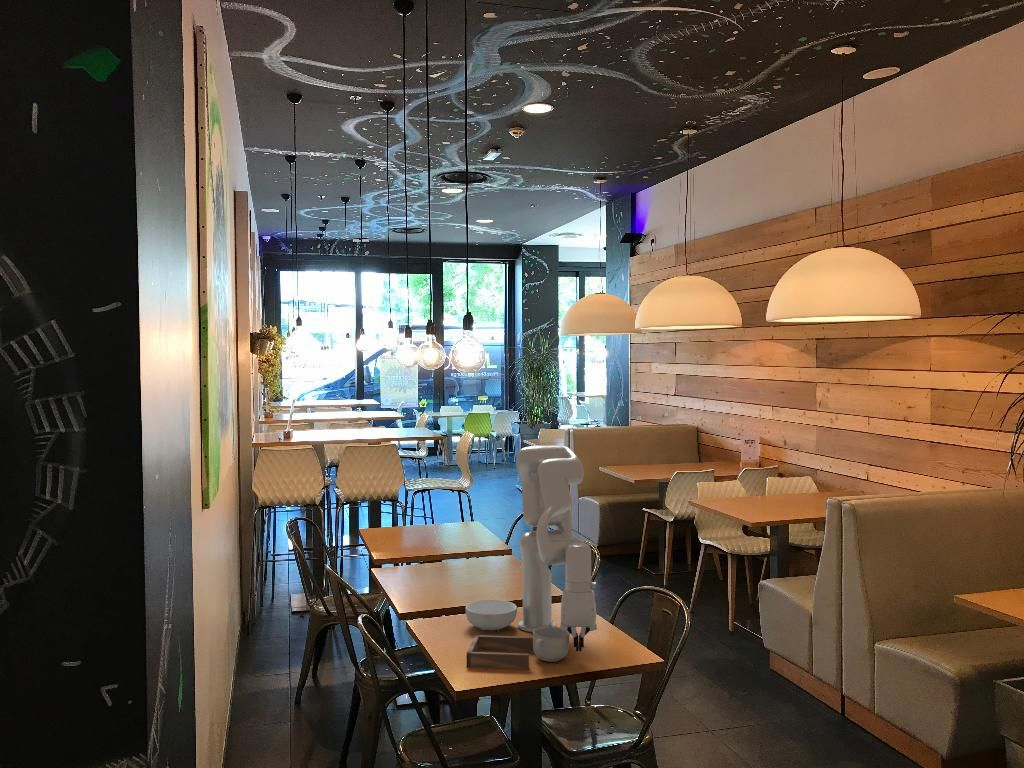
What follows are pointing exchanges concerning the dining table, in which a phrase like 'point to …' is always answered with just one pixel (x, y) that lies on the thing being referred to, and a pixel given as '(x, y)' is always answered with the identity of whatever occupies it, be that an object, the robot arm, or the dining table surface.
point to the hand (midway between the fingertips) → (578, 649)
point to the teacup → (550, 643)
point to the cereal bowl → (491, 614)
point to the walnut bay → (499, 659)
